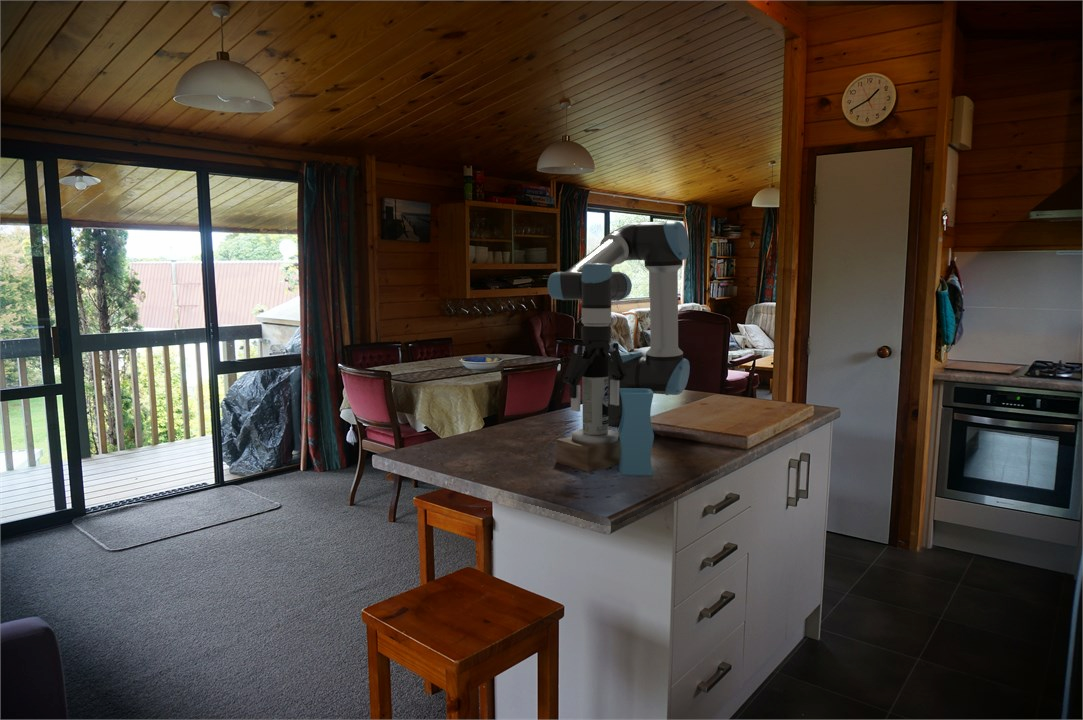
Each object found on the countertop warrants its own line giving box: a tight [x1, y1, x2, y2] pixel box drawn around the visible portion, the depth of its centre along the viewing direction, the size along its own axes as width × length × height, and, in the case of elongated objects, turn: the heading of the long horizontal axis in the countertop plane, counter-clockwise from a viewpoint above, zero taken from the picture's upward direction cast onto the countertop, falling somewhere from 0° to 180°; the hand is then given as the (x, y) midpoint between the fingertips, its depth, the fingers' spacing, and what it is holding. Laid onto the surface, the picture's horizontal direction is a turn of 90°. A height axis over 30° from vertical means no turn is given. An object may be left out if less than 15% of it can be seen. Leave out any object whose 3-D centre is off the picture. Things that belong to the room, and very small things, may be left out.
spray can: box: [581, 356, 609, 436], centre depth 180 cm, size 7×7×20 cm
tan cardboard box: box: [555, 428, 621, 473], centre depth 182 cm, size 16×12×8 cm
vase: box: [617, 388, 655, 476], centre depth 173 cm, size 8×8×20 cm
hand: (595, 407), depth 180 cm, fingers open, 13 cm apart
